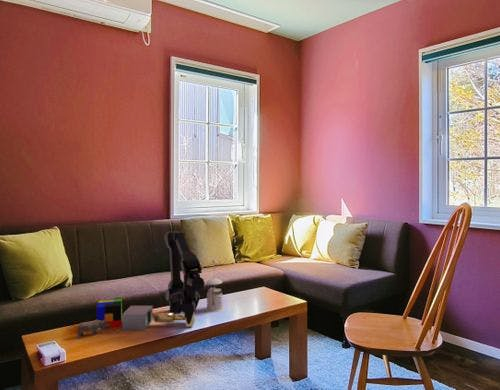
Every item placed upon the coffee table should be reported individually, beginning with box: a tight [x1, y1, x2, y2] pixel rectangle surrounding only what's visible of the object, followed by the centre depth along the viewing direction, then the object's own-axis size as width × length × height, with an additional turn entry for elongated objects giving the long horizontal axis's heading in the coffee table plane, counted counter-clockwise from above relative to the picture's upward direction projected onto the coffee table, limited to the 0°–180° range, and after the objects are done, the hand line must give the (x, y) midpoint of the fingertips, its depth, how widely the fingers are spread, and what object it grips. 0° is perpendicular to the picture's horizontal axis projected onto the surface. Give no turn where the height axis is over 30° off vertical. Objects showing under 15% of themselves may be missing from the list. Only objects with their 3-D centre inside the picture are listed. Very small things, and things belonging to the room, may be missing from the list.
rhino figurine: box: [76, 319, 110, 339], centre depth 166 cm, size 4×14×6 cm, turn 124°
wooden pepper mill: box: [153, 312, 195, 328], centre depth 176 cm, size 6×17×6 cm, turn 90°
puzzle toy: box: [96, 298, 123, 331], centre depth 177 cm, size 10×10×10 cm
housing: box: [121, 305, 154, 331], centre depth 176 cm, size 12×10×7 cm
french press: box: [204, 259, 225, 313], centre depth 198 cm, size 10×12×25 cm
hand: (190, 320), depth 176 cm, fingers open, 9 cm apart
